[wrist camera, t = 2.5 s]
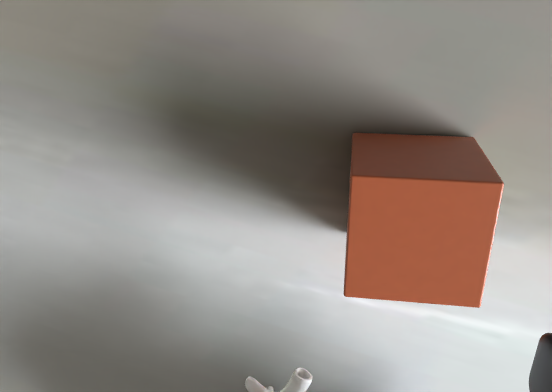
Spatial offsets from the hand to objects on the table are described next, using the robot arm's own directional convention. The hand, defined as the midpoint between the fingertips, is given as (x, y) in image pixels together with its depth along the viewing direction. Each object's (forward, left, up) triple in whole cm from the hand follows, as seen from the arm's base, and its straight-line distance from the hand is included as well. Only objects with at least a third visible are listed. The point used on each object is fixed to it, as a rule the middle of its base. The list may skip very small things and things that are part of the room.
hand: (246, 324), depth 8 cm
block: (-4, +2, -11) cm, 11 cm away
